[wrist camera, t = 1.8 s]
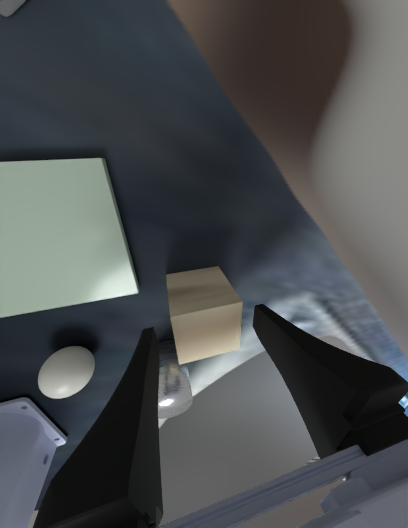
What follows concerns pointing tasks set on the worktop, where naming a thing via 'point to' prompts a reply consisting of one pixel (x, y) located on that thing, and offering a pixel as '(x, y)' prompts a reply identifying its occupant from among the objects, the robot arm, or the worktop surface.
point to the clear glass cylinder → (172, 382)
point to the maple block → (203, 313)
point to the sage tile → (60, 236)
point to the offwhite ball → (66, 372)
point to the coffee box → (9, 6)
